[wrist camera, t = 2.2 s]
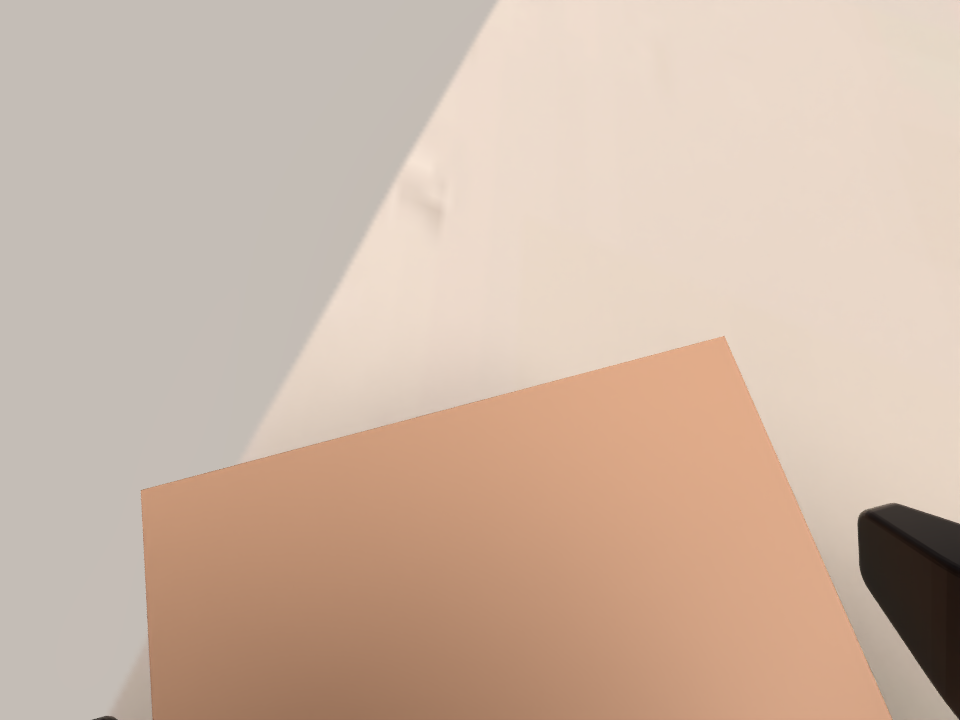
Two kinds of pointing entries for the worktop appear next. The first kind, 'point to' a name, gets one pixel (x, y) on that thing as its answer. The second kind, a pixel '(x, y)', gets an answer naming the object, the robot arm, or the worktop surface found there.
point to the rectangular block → (508, 567)
